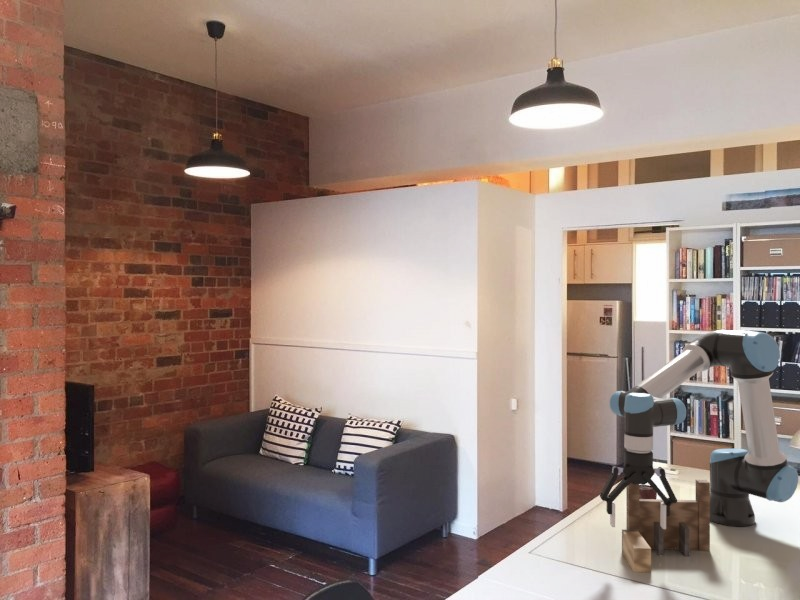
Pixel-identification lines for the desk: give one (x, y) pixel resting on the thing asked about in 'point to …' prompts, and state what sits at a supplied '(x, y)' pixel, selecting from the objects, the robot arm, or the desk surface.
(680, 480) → the desk surface
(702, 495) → the wooden u-shaped stand
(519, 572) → the desk surface
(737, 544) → the desk surface
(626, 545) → the tan rectangular block
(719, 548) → the desk surface
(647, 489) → the can
